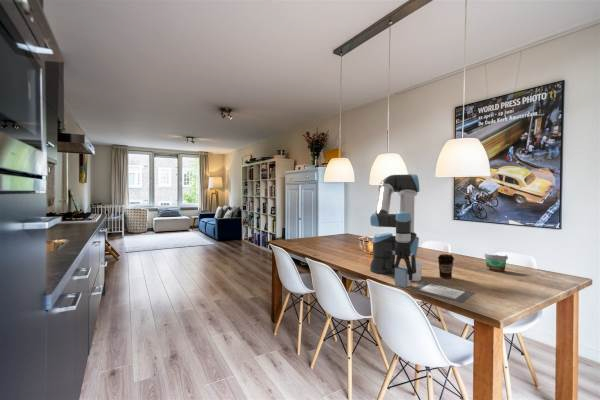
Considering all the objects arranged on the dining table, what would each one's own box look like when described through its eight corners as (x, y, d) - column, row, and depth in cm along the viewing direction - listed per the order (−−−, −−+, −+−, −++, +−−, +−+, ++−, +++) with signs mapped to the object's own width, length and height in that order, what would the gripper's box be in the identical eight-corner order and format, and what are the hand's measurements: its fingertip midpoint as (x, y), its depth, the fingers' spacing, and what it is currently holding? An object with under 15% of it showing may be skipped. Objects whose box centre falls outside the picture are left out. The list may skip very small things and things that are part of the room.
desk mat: (410, 289, 147) (410, 289, 147) (425, 281, 159) (425, 281, 159) (462, 302, 130) (462, 302, 130) (474, 292, 142) (474, 292, 142)
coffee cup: (456, 280, 162) (456, 257, 161) (440, 279, 163) (440, 256, 163) (451, 275, 170) (451, 253, 170) (436, 275, 172) (436, 253, 172)
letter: (419, 289, 146) (419, 289, 146) (429, 283, 155) (429, 283, 155) (455, 298, 134) (455, 298, 134) (464, 291, 143) (464, 291, 143)
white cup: (415, 282, 159) (415, 264, 158) (404, 278, 166) (404, 261, 165) (425, 280, 162) (425, 262, 162) (413, 276, 169) (413, 259, 169)
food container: (486, 271, 179) (486, 255, 179) (484, 268, 185) (484, 253, 184) (510, 273, 174) (510, 256, 174) (507, 270, 180) (507, 254, 180)
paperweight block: (394, 285, 154) (394, 268, 154) (400, 282, 158) (400, 266, 158) (405, 287, 150) (405, 270, 150) (410, 285, 154) (410, 268, 154)
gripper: (383, 239, 158) (382, 282, 158) (417, 244, 144) (417, 290, 145) (390, 238, 163) (389, 279, 164) (424, 242, 149) (423, 287, 150)
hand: (402, 284), depth 154 cm, fingers closed on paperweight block, 6 cm apart
